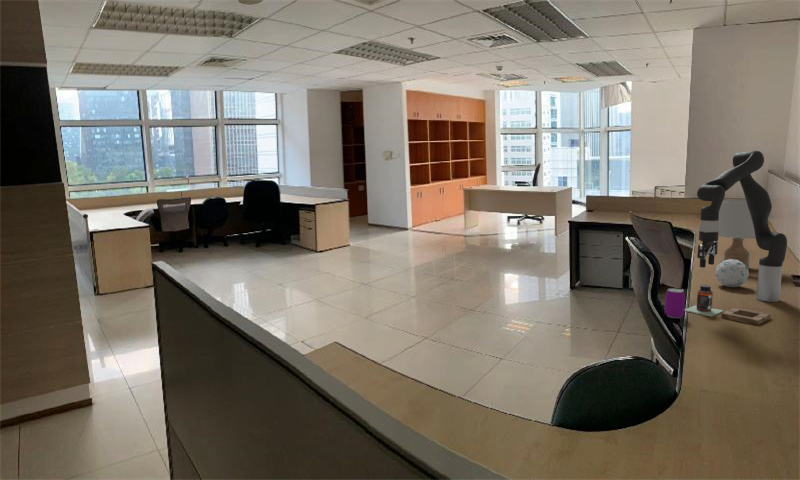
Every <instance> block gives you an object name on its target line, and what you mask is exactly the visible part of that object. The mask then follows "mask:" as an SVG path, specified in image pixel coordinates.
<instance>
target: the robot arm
mask: <svg viewBox="0 0 800 480" xmlns="http://www.w3.org/2000/svg"><path fill="white" fill-rule="evenodd" d="M764 163H765V157H764V154H763V153H762V152H761V151H759V150H748V151H741V152H736V153H735V154H734V155H733V157H732V165H733V167H732V168H730V169H727V170H726V171H724V172H722V173H720V174H719V175H718V176H716V178H715V179H712V180H710V181H707V182H705V183H703V184H702V185H701V186H700V187H699V188H698V189H697V192H696V196H697V198H698V199H699V200H700V201H703V202H711V203H710V205H707V206H706V205H705V206H703V207H702V208H700V220H699V224H698V225H699V226H698V227H699V228H698V240H699V241H701V244H698V245H697V257H696V258H697V259H699V267H700V268H703V269H704V268H706V265H707V261H708V265H713V266H714V265H715V257H716V255H718V244H719V242H718V241H719V236H718V234H719V211H720V207H721V204H722V202H723V200H725V196H726V192H727V191H729V189H731V188H732V187H733V186H735V184H737V183H738V182H739V183H740V186H741V188H742V191H743V192H742V193H743V195H744V199H746V202H747V206H748V209H749V211H750V214H751V218H752V222H753V226H754V231H755V237H756V238H755V241H756V244H757V247H758V248H760V249H761V250H764V251H768V254H767V256H765V257H760V258H759V260H758V272H757V274H758V275H757V286H756V296H755V297H756V298H755V299H757V300H758V301H761V302H762V301H763V302H768V303H770V302H771V303H778V302H779V301H780V295H781V286H782V285H781V284H782V276H783V275H782V274H783V263H784V262H785V259H786V254H787V247H788V239H787V236H786V234H784V233H781V232H775V231H771V229H770V227H769V223H768V222H769V216H770V215H771V212H772V208H773V206H772V205H773V204H772V201H771V197H770V195H769V193H768V191H767V190H766V189H765V188H764V187H763V186H762V185H761V184H759V183H758V182H757V181H756V180H755V179H754V178H753V176H752V174H753V173H754V172H757V171H758V170H760V169H761V168H762V167H763V166H764ZM707 257H708V259H707Z"/></svg>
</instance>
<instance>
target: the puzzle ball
mask: <svg viewBox="0 0 800 480" xmlns="http://www.w3.org/2000/svg"><path fill="white" fill-rule="evenodd" d="M749 271H750V270H749V269H748V268H747V266H746V265H745V264H744V263H742V262H741V261H738V260H735V259H729V260H725V261H723V260H722V261H721V262H720V263H718V265H717V266H716V268H715V277H716V280H717V281H718V282H719V283H720V284H721V285H723V286H725V287H727V288H738V287H740V286H742V285H744V284H745V283H746V282H747V281H748V279H749V275H750V273H749Z"/></svg>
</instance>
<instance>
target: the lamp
mask: <svg viewBox="0 0 800 480" xmlns="http://www.w3.org/2000/svg"><path fill="white" fill-rule="evenodd" d="M718 237H724V238H731V239H732V241H731V242H732V243H731V245H730V246H729V247H727V248H726V249H724V252H723V258H722V262H723V261H725V260H729V259H735V260H738V261H741V262H742V263H744V264H745V265H746V266H747V268H750V260H751V253H750V252H749V250H748V249H747V248H745V246H744V239H756V237H755V231H754V226H753V222H752V218H751V214H750V211H749V209H748V206H747V202H746V198H744V199H743V198H742V199H740V198H739V199H738V198H737V199H736V198H735V199H734V198H733V199H729V198H727V199H725V198H724V199H723V202H722V204H721V207H720V211H719V234H718Z"/></svg>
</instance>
